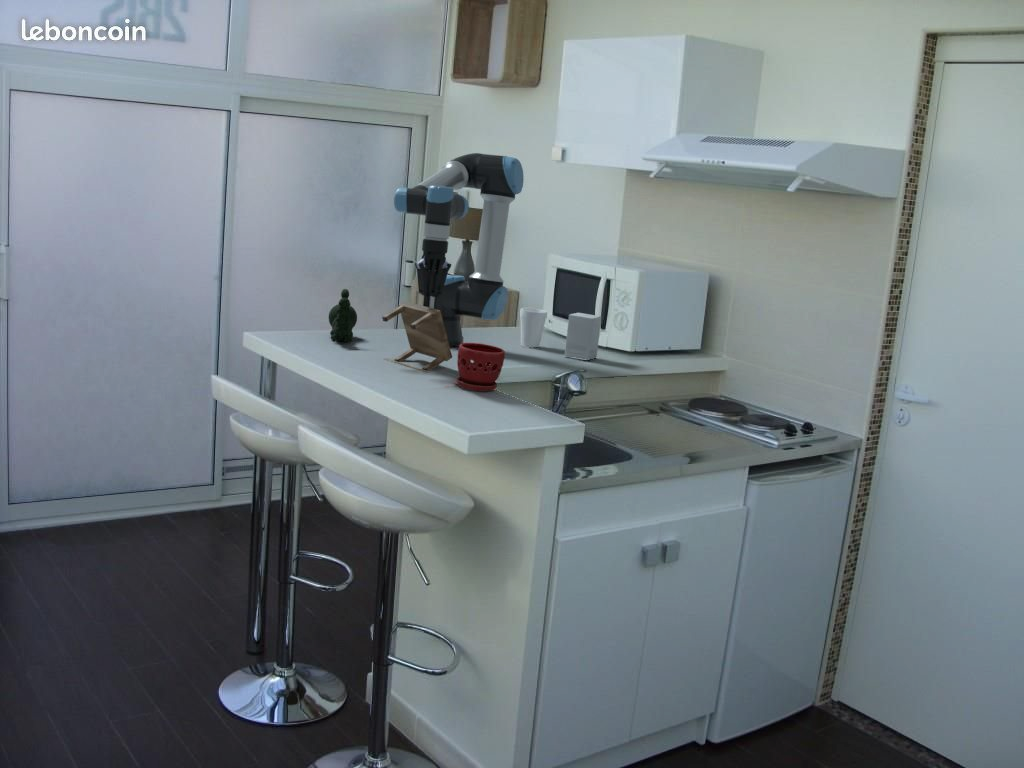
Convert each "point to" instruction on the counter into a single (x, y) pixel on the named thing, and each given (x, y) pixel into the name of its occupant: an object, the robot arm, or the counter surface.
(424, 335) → the footstool
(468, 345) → the plant pot
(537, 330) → the foam cup
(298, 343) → the counter surface
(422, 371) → the oak batten
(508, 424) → the counter surface
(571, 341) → the supplement box
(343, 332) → the toy figurine
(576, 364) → the counter surface
